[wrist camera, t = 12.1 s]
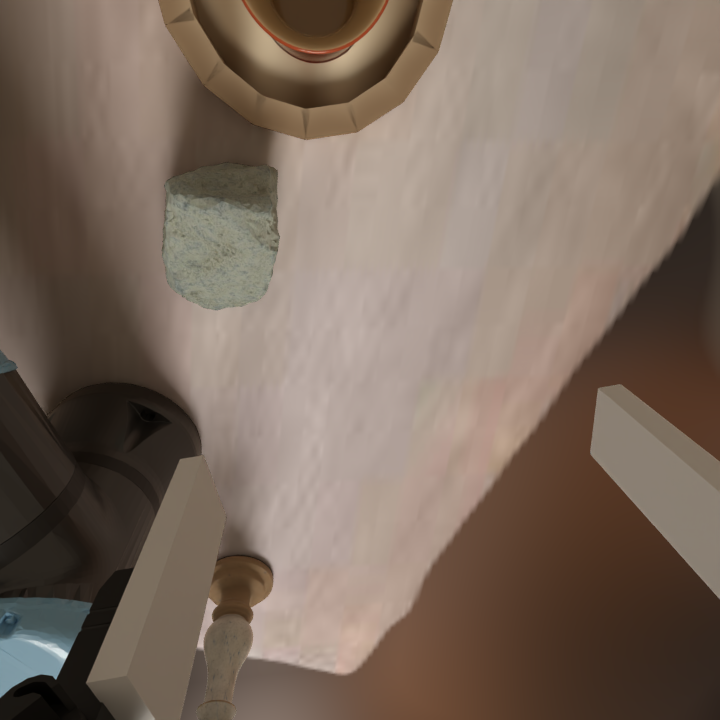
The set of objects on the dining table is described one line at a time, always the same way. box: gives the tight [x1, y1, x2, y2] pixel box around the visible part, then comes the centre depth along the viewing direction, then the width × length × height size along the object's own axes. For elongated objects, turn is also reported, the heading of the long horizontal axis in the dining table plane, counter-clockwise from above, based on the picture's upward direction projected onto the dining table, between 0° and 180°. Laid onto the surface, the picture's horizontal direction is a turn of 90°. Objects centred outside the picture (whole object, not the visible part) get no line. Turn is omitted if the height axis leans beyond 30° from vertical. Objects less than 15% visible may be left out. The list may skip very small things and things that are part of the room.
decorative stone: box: [162, 162, 280, 310], centre depth 36 cm, size 13×11×10 cm
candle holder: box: [196, 556, 273, 720], centre depth 48 cm, size 9×9×20 cm
